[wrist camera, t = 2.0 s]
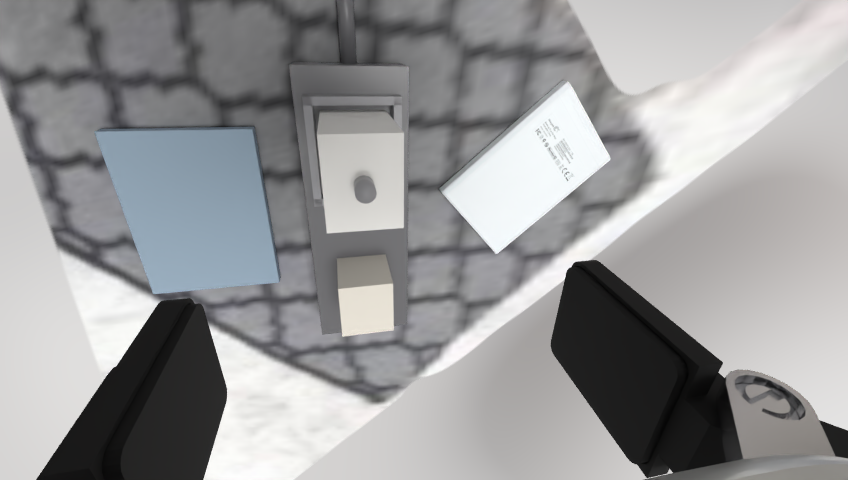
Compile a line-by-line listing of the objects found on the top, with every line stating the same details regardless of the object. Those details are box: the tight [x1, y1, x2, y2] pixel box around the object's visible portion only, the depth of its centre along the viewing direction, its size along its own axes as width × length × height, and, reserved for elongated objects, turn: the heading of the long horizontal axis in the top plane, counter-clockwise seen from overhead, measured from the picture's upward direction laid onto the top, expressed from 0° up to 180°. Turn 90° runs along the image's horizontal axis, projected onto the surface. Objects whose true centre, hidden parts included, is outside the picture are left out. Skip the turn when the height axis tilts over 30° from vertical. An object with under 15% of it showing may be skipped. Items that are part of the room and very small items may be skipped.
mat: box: [95, 127, 280, 294], centre depth 27 cm, size 12×9×1 cm
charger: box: [317, 110, 404, 233], centre depth 21 cm, size 5×4×8 cm
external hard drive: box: [439, 81, 610, 254], centre depth 32 cm, size 2×8×12 cm
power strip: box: [289, 0, 409, 337], centre depth 25 cm, size 26×7×7 cm, turn 178°
